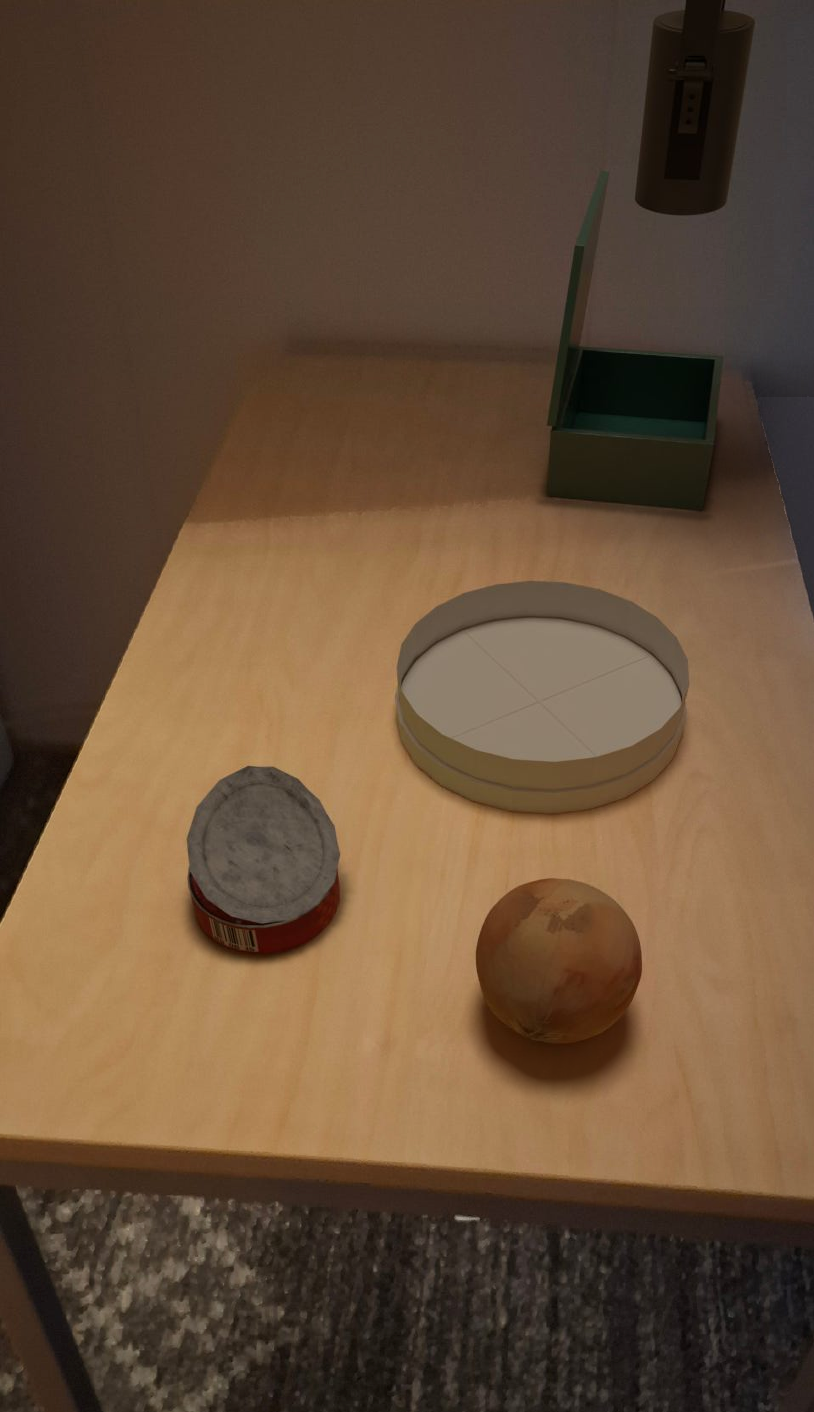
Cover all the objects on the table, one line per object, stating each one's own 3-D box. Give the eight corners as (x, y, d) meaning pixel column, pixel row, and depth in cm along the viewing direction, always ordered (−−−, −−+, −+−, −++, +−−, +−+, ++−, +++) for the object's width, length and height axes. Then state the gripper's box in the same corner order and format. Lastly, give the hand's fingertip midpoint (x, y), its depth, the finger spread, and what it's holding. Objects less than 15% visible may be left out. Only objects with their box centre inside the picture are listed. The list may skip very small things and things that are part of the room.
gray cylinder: (706, 180, 98) (732, 5, 89) (740, 210, 93) (771, 28, 84) (622, 189, 97) (639, 12, 88) (652, 220, 92) (674, 36, 83)
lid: (609, 172, 106) (600, 170, 106) (584, 246, 94) (574, 245, 94) (580, 341, 117) (572, 340, 117) (555, 427, 106) (546, 425, 106)
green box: (711, 426, 121) (723, 356, 115) (700, 518, 109) (714, 444, 103) (570, 415, 123) (576, 345, 118) (545, 504, 111) (550, 431, 106)
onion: (634, 954, 75) (655, 846, 67) (629, 1086, 68) (651, 983, 61) (484, 937, 76) (488, 829, 68) (464, 1065, 69) (466, 962, 62)
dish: (497, 858, 80) (499, 807, 77) (345, 688, 93) (341, 636, 90) (743, 744, 88) (756, 692, 84) (570, 601, 101) (575, 550, 97)
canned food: (326, 899, 84) (387, 810, 78) (293, 1001, 77) (356, 912, 71) (184, 829, 82) (234, 731, 76) (135, 927, 75) (186, 828, 68)
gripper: (691, -248, 83) (651, 120, 100) (666, -215, 70) (624, 203, 87) (799, -250, 82) (740, 124, 99) (794, -217, 69) (726, 208, 86)
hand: (685, 160), depth 93 cm, fingers closed on gray cylinder, 7 cm apart
